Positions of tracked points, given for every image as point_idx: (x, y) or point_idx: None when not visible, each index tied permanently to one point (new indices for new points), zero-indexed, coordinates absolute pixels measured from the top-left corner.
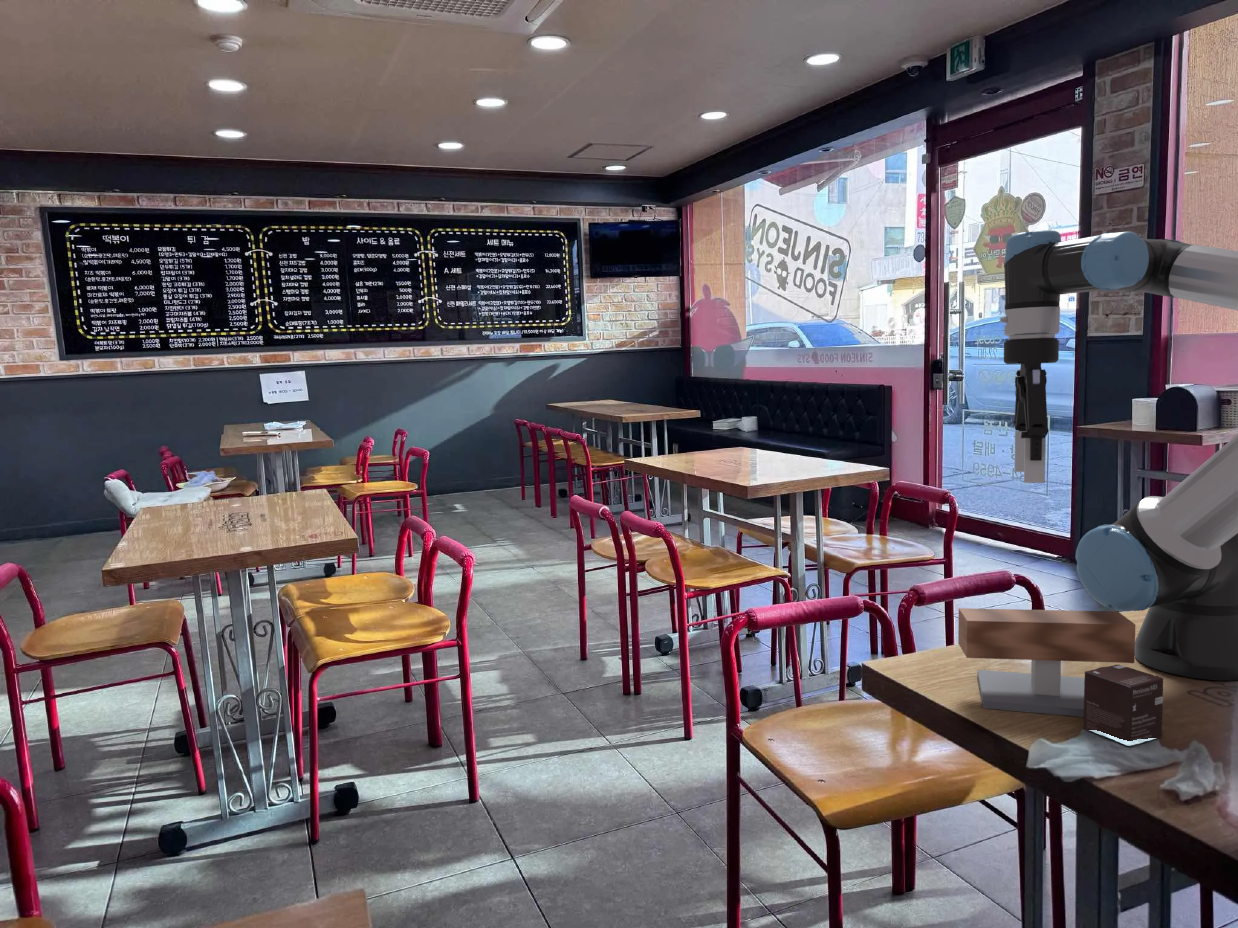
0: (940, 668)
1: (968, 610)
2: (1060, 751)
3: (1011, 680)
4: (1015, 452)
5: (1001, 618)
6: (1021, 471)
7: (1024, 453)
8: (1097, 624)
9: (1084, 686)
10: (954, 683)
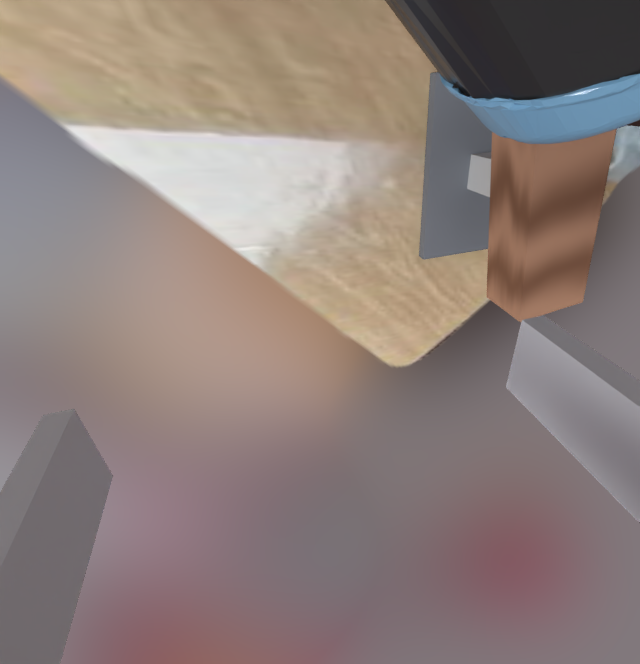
0: (397, 300)
1: (531, 308)
2: (633, 152)
3: (458, 214)
4: (79, 587)
5: (576, 259)
6: (99, 455)
7: (615, 492)
8: None
9: (632, 125)
10: (447, 277)
